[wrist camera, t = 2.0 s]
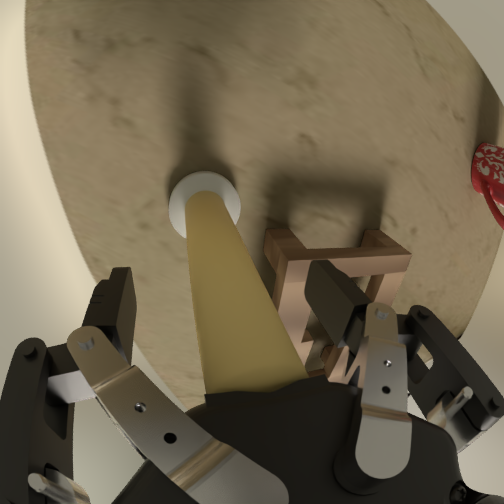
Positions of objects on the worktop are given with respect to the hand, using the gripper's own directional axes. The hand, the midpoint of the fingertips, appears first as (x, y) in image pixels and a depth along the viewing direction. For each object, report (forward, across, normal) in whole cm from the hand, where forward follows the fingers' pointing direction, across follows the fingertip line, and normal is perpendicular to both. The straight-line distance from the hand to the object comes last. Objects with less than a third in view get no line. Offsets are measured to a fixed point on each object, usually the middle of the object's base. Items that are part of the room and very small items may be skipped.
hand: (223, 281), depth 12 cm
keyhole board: (+10, -11, +11) cm, 18 cm away
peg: (+9, 0, 0) cm, 9 cm away
